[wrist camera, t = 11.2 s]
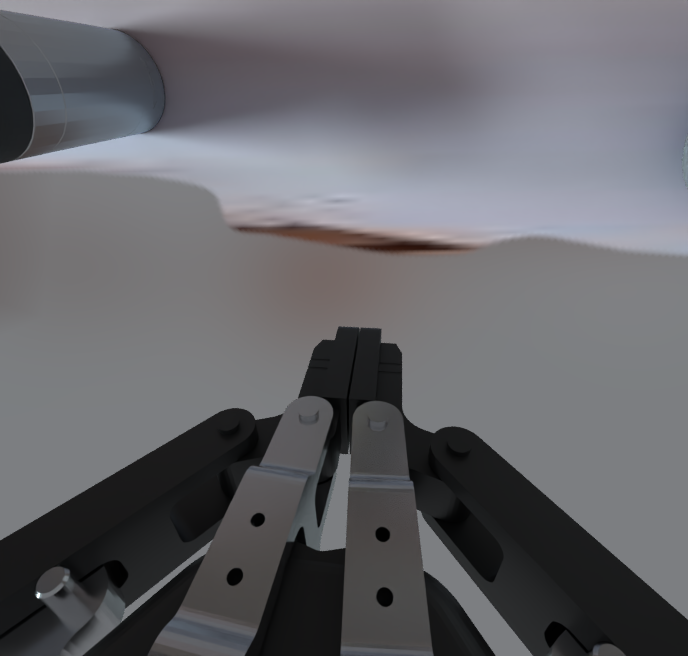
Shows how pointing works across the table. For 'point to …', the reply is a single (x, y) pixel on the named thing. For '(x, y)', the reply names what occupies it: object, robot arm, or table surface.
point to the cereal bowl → (685, 162)
